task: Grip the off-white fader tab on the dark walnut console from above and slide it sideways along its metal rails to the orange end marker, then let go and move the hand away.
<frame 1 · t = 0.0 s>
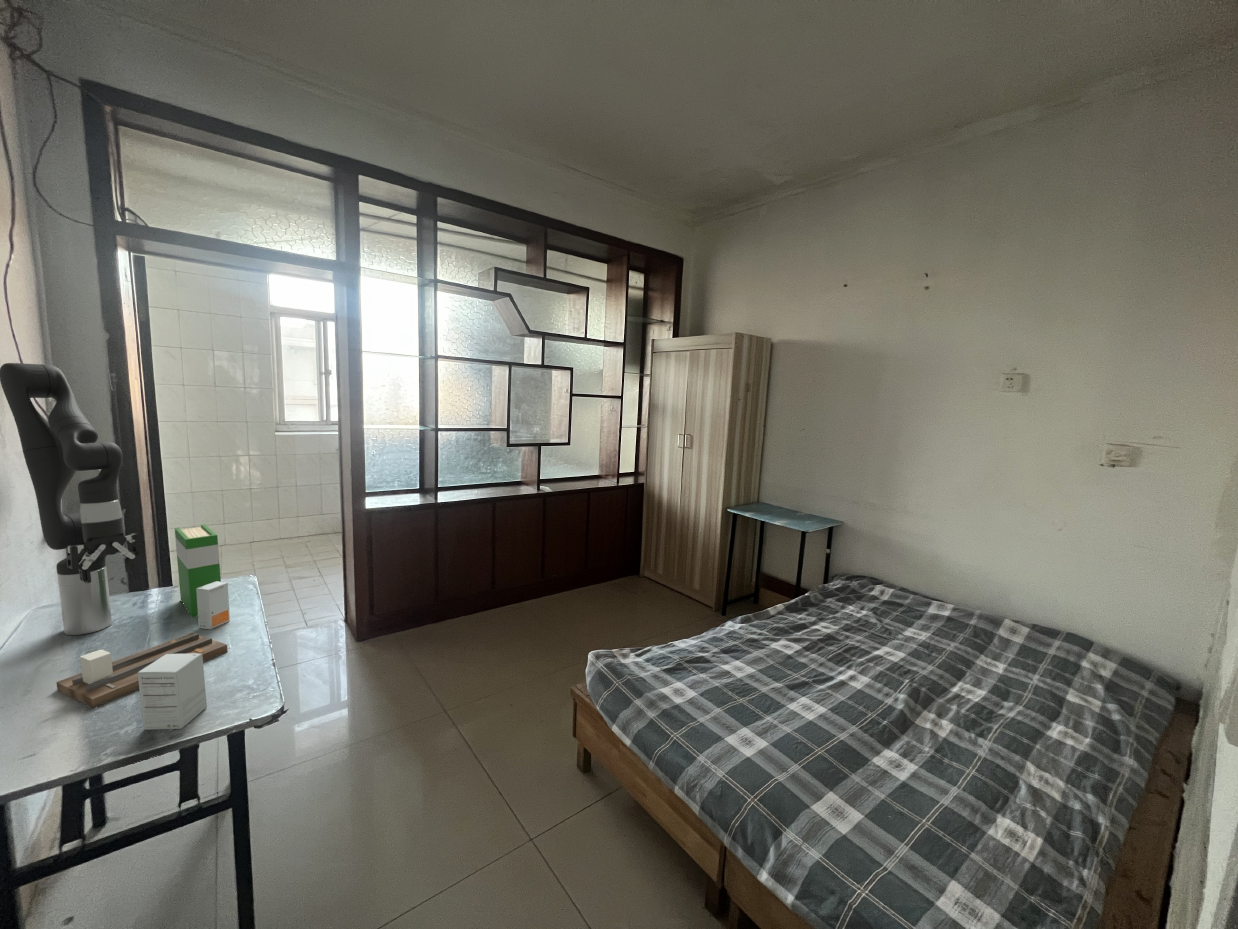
hand: (109, 577, 132), 17 cm above the table, tool pointing down, fingers open, 8 cm apart
hardback book: (201, 605, 156), on the table
skincare box: (215, 625, 144), on the table
supplement box: (176, 719, 103), on the table
fader tab: (96, 667, 111), point 5 cm above the table, slide at -9.0 cm
fader console: (149, 669, 120), on the table
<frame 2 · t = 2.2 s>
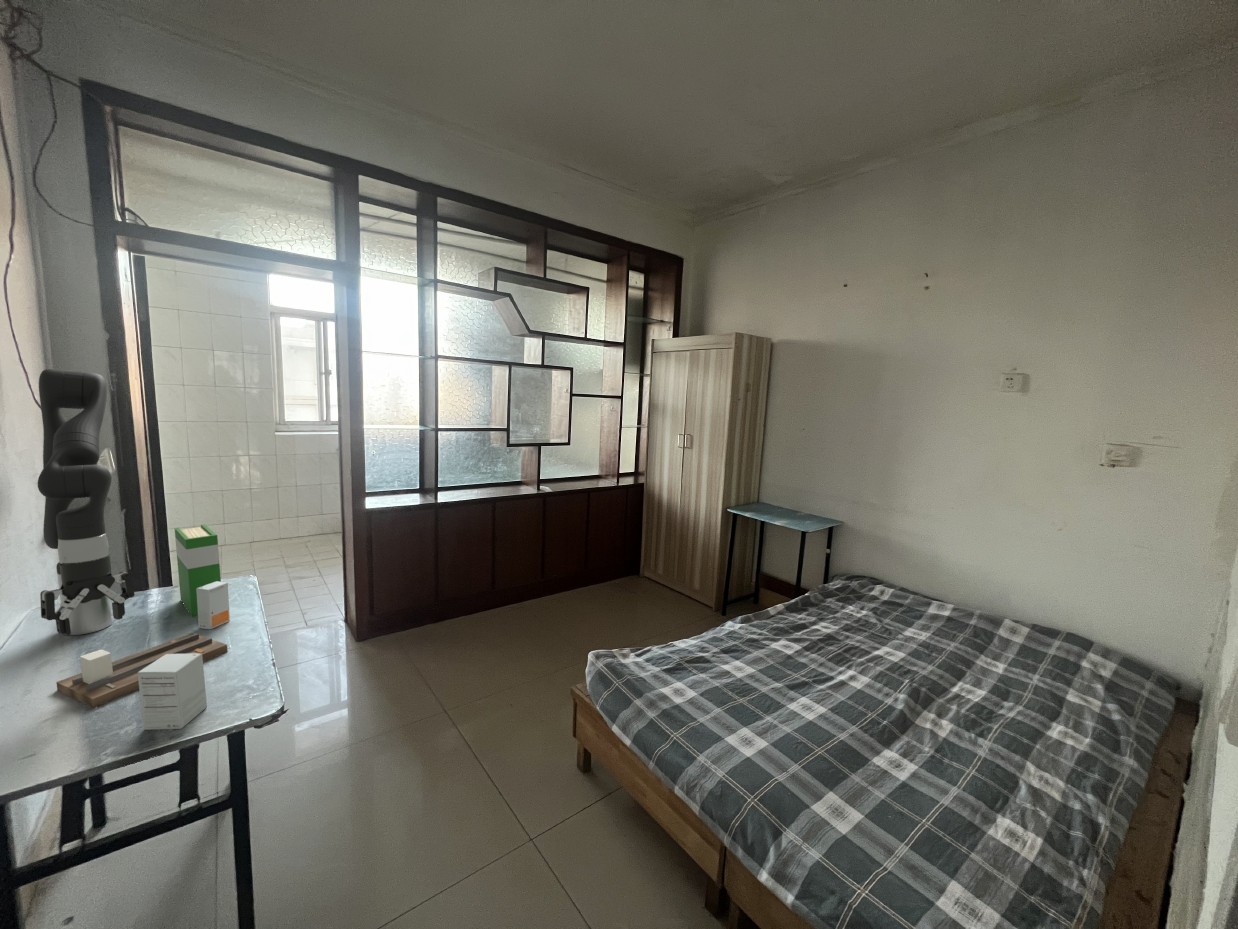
hand: (92, 626, 110), 15 cm above the table, tool pointing down, fingers open, 8 cm apart
nothing on the table moved.
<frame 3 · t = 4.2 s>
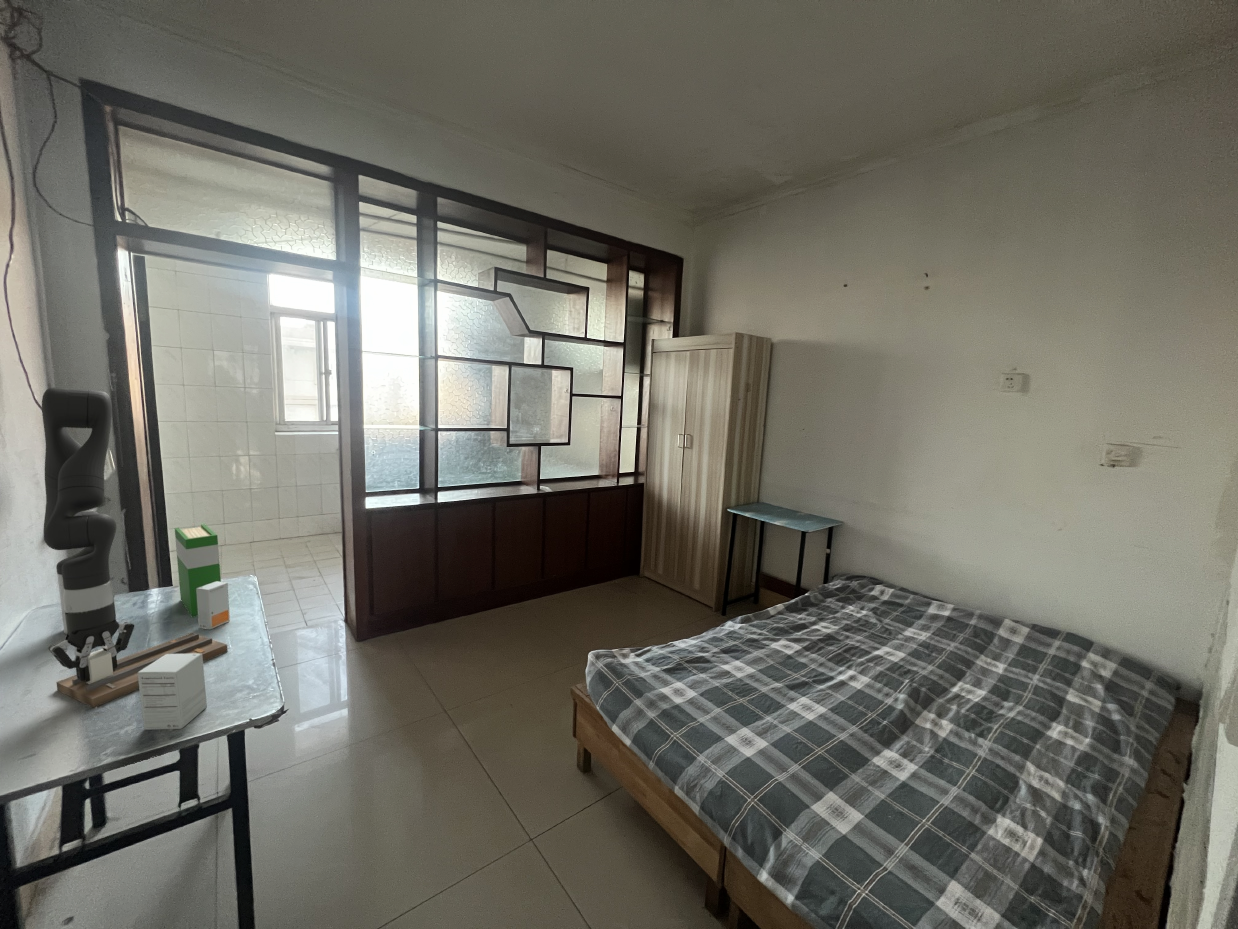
hand: (98, 676, 111), 3 cm above the table, tool pointing down, fingers closed on fader tab, 3 cm apart
fader tab: (97, 667, 111), point 5 cm above the table, slide at -9.0 cm, touching gripper
everything else where it was.
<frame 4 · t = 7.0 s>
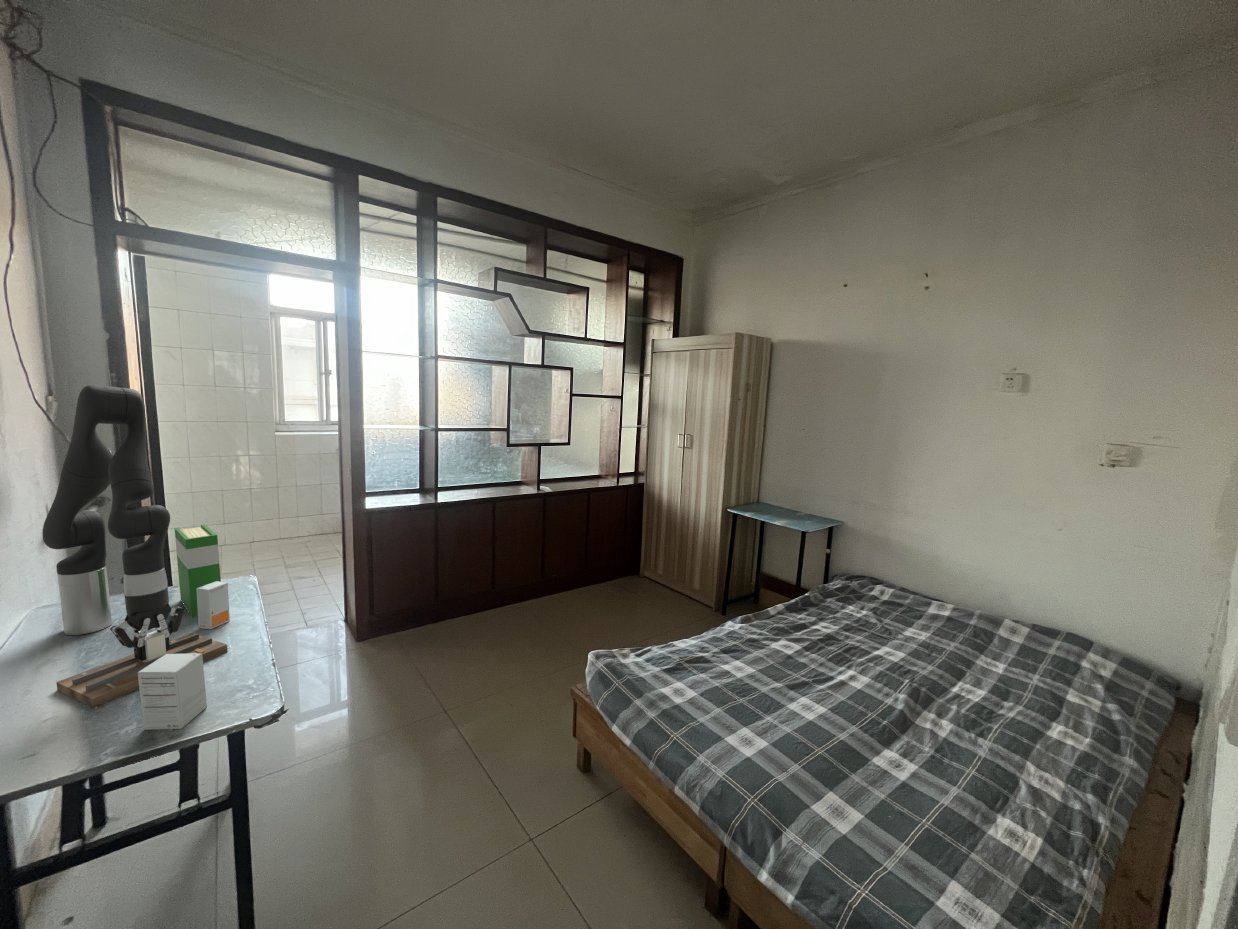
hand: (152, 655, 120), 3 cm above the table, tool pointing down, fingers closed on fader tab, 3 cm apart
fader tab: (152, 647, 120), point 5 cm above the table, slide at 1.0 cm, touching gripper
everything else where it was.
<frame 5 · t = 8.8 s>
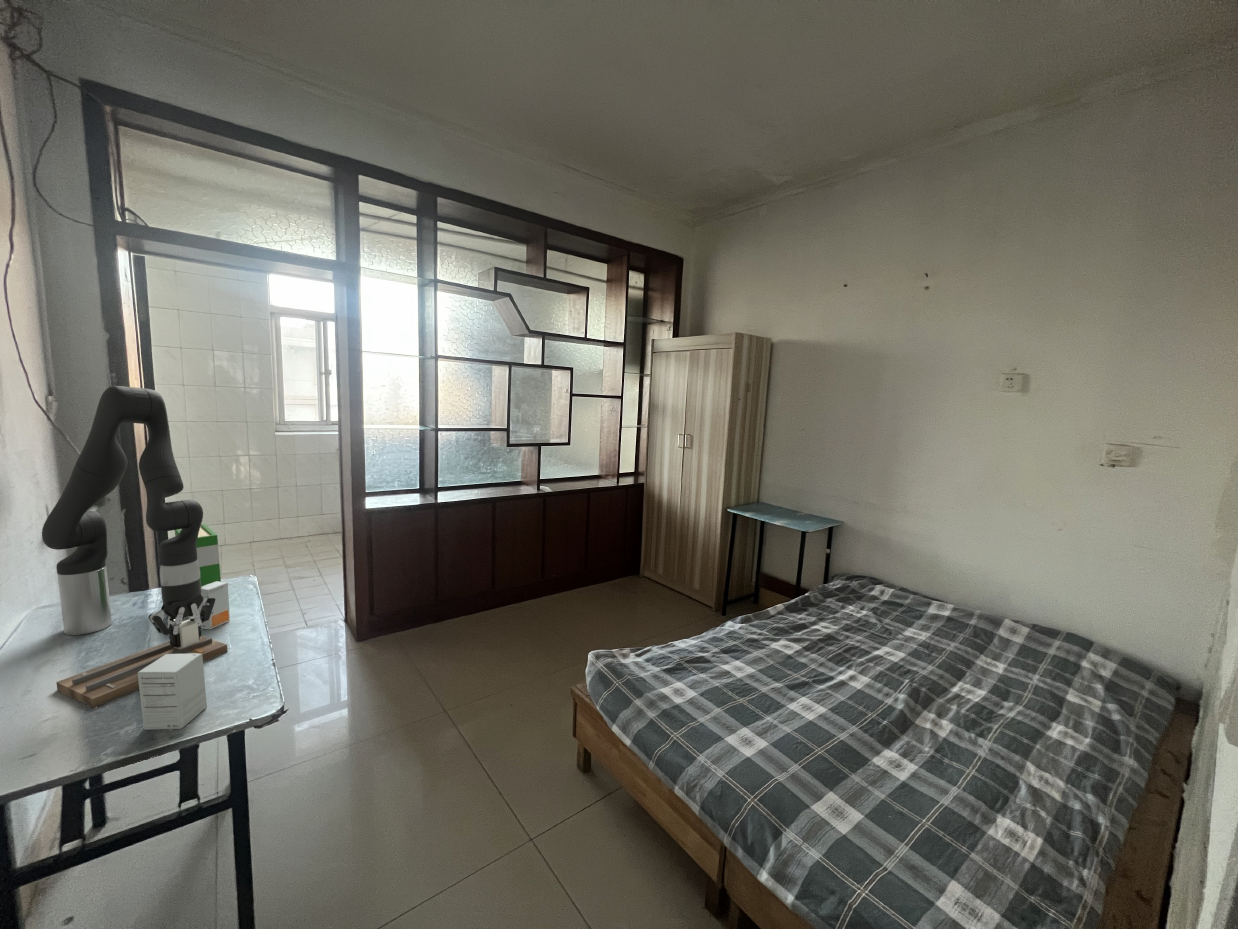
hand: (186, 642, 127), 3 cm above the table, tool pointing down, fingers closed on fader tab, 3 cm apart
fader tab: (185, 635, 127), point 5 cm above the table, slide at 7.9 cm, touching gripper
everything else where it was.
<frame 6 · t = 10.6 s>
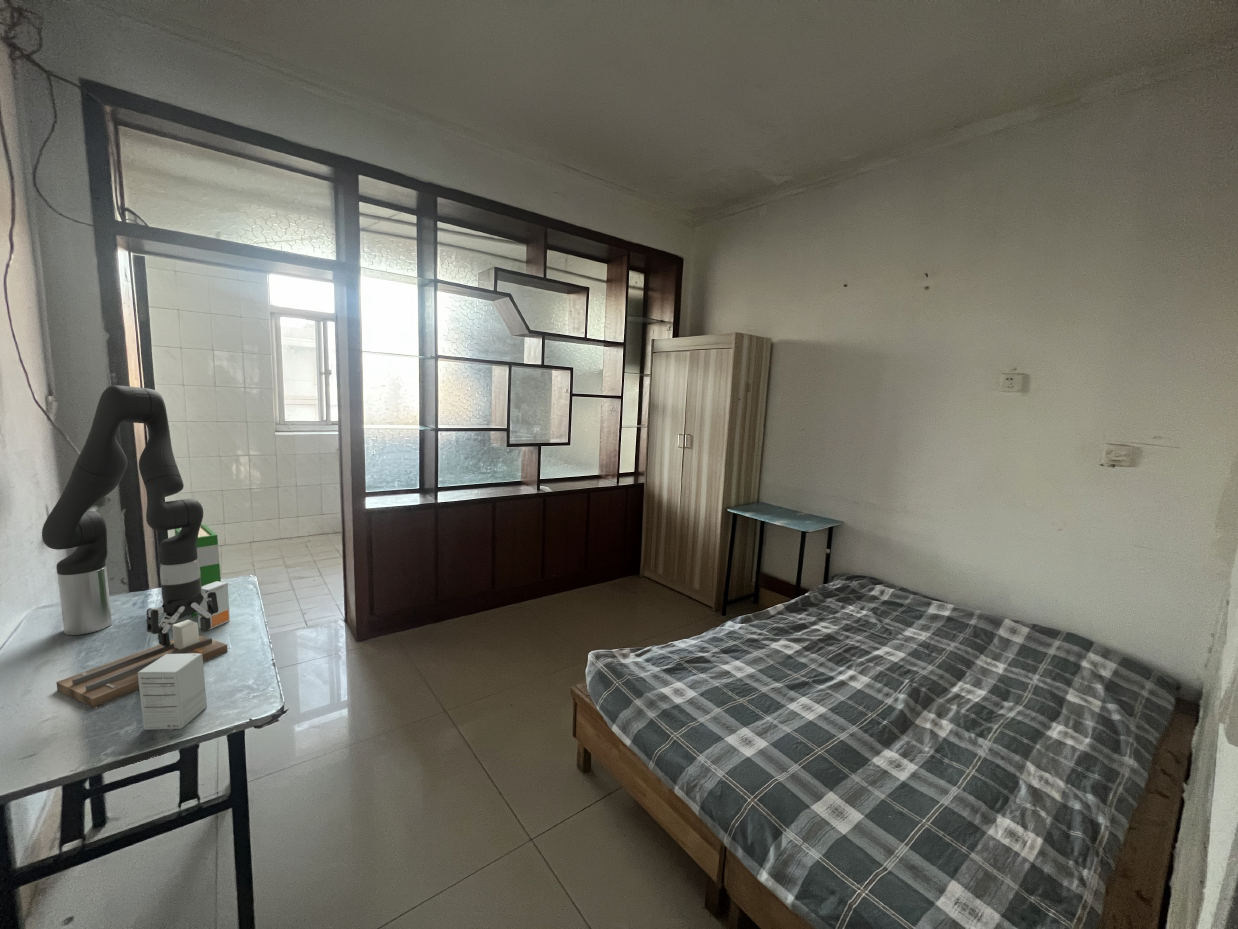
hand: (186, 638, 127), 4 cm above the table, tool pointing down, fingers open, 8 cm apart
fader tab: (186, 634, 127), point 5 cm above the table, slide at 8.0 cm
everything else where it was.
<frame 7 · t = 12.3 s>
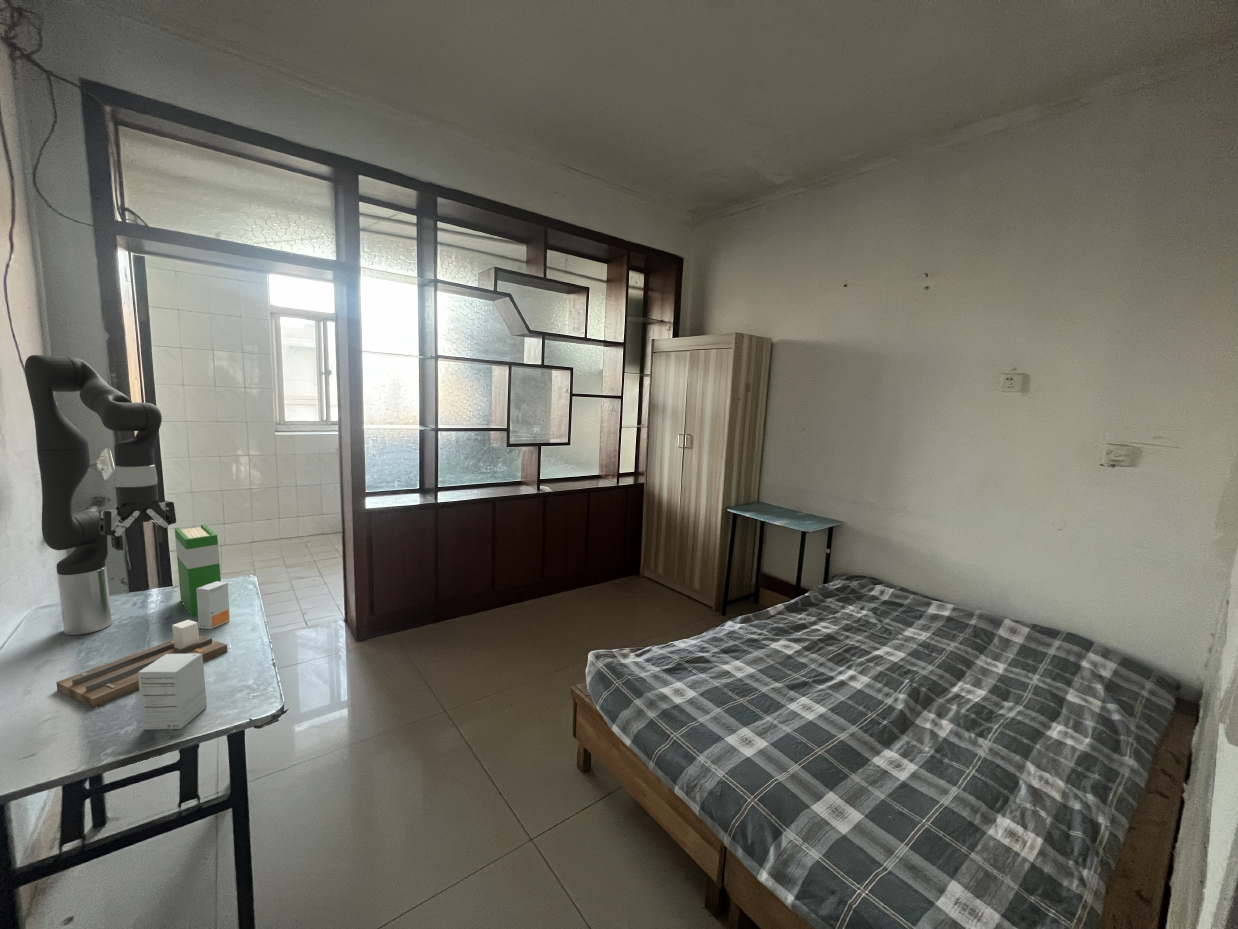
hand: (140, 545, 125), 28 cm above the table, tool pointing down, fingers open, 8 cm apart
nothing on the table moved.
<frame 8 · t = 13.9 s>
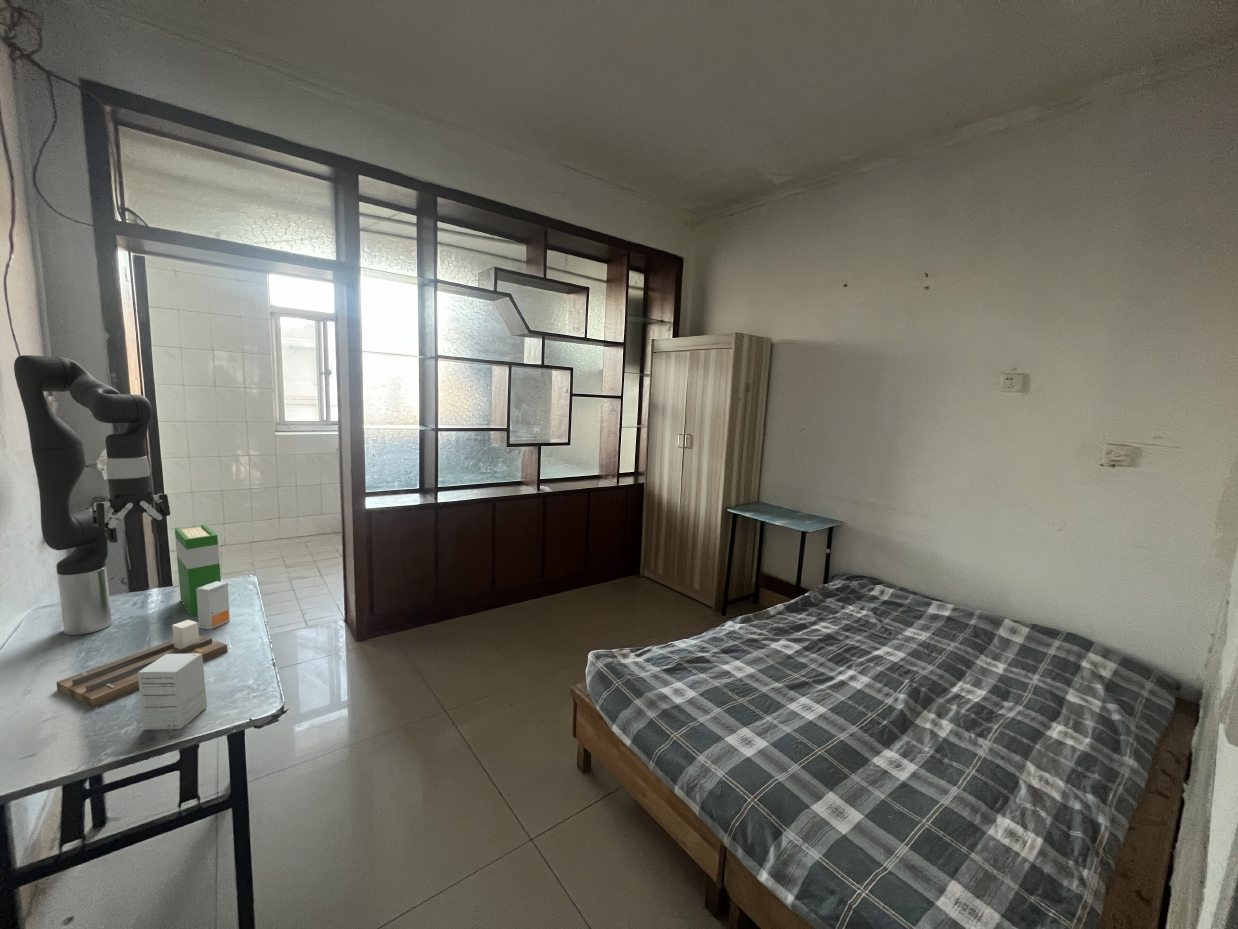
hand: (135, 538, 125), 30 cm above the table, tool pointing down, fingers open, 8 cm apart
nothing on the table moved.
at the end: fader tab slide at 8.0 cm; the gripper is holding nothing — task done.
